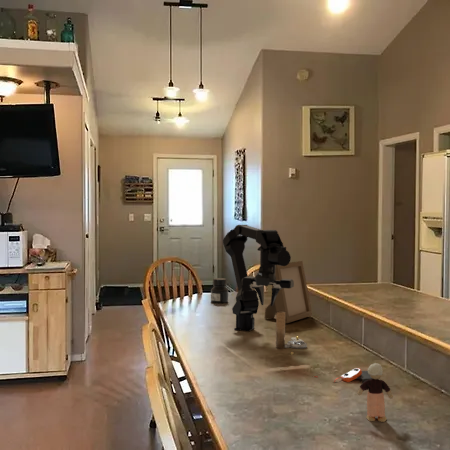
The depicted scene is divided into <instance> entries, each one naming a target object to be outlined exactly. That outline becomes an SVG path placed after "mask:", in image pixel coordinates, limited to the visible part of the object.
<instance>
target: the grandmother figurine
mask: <svg viewBox="0 0 450 450" xmlns="http://www.w3.org/2000/svg"><path fill="white" fill-rule="evenodd" d="M367 371H368V373H369V375H370V376H371V378H372V379H370V380H366V381H364V382H363V383H362V382H361V384H360V385H359V389H358V391H357V392H356V393H357V396H362V394H363V392H365V391H367V395H366V396H367V397H366V412H367V415H366V416H365V418H366V419H367V420H368V421H369V422H376V417H377V421H378V422H381V423H384V422H386V421H387V416H386V408H385V406H386V405H385V396H384V395H385V394H384V392H385V393H386V395H387V397H388V398H389V399H393V398H394V395H393V392H392V390H391V388H390V385H389V384H387V382H385V381H384V380H382V379H380V378H381V377H382V376H383V372H384V370H383V367H382V364H380V363H375V362H374V363H372V364H370V365H369V366H368V367H367ZM383 390H384V392H383Z"/></svg>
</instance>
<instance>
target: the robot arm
mask: <svg viewBox="0 0 450 450" xmlns="http://www.w3.org/2000/svg"><path fill="white" fill-rule="evenodd" d="M249 238H250V239H252V240H255V242H256V243H257V244H259V245H260V246H259V247H258V248H257V251H259V253H260V254H259V256H260V259H259V260H260V261H259V263H260V264H259V267H258V272H257V273H256V275H255V276H248V270H247V267H246V262H245V258H244V251H245V249H246V245H245V244H246V242H247V241H248V239H249ZM222 245H223V247H224V250H225V252H226V254H228V255H229V256H230V259H231V263H232V267H233V273H234V277H235V281H236V287H237V293H236V297H235V303H234V305H233V307H232V308H231V309H232V310H231V311H232V314H234V315H235V327H234V331H243V332H244V331H246V332H251V331H252V330H253V329H255V317H254V315H256V314H257V313H258V309H259V305H261V306H264V304H265V303H264V301H265V297H264V296H265V295H264V293H265V290H264V289H265V288H264V287H268V286H272V285H273V286H274V287H273V288H272V287H271V300H270V303H271V306H273V304H274V301H275V299H276V296H277V294H278V292H279V290H280V289H282V288H292V287H294V281H293V280H292V279H282V280H280V281H278V280H276V276H275V269H276V265H279V266H286V265H288V264H289V263H290V262H291V257H292V256H291V254H290V252H289V251H288V250H287V247H286V246H284V242H282V238H281V235H280V234H279V232H278V231H277V229H260V228H257V227H254V226H250V225H248V224H238V225H236V226H235V227H234V228H233V229H232V230H230V231H228V232H227V233H226V235H225V236H224V237H223V239H222ZM251 285H252V286H251ZM259 301H260V303H259Z"/></svg>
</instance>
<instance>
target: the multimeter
mask: <svg viewBox="0 0 450 450" xmlns="http://www.w3.org/2000/svg"><path fill="white" fill-rule="evenodd" d="M313 376H314V375H313ZM314 378H317V375H316V376H314ZM340 378H341V380H339V381H338V382H337V381H336V380H337V379H340ZM356 379H358V381H360V383H361V384H362V383H363V382H364V381H366V380H370V379H372V378H371V376H370V375H369V373H368V370H362V369H361V368H359V367H355V368H353V369H351V370H350V371H347V372H346V373H343V374H342V375H340V377H337V378H336V380H334V382H332V383H333V384H335V383H338V384H339V383H341V382H342V381H343V382H345V383H346V382H347V383H351V382H352V381H354V380H356Z"/></svg>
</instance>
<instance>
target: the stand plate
mask: <svg viewBox="0 0 450 450" xmlns="http://www.w3.org/2000/svg"><path fill="white" fill-rule="evenodd" d="M299 337H300V336H297V335H296V336H295V337H293V336H292V337H291V338H290V340H291V341H302V342H305V341H304V340H303V339H301V338H299ZM294 352H295V351H290V355H294Z"/></svg>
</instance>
